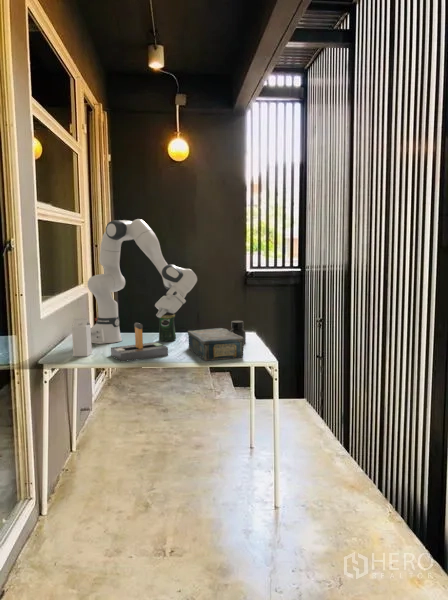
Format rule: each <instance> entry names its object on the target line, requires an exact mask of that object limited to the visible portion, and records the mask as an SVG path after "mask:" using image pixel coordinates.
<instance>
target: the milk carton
mask: <svg viewBox="0 0 448 600" xmlns="http://www.w3.org/2000/svg"><path fill="white" fill-rule="evenodd" d="M91 328H92V326H91V322H90V321H89V318H88V317H73V322H72V326H71V333H72V350H73V351H72V352H73V353H72V354H73V357H88V356H90V355H91V354H92V353H93V351H92V343H91Z"/></svg>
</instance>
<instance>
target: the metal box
mask: <svg viewBox="0 0 448 600" xmlns="http://www.w3.org/2000/svg"><path fill="white" fill-rule="evenodd" d="M187 336H188V350H190V351H192V352H193V353H195V354H196V355H197V356H198V357H199V358H200V359H202V360H203V361H204V362H208V361H219V360H218V359H221V360H231V359H239V357H240V358H243V357H244V349H245V348H244V345H245V343H244V338H243V337H242V336H239V335H237V334H235V333H233V332H230V330H229V329H227V328H222V327H218V328H217V327H216V328H206V329H196V330H187ZM230 358H231V359H230Z"/></svg>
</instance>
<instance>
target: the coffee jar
mask: <svg viewBox="0 0 448 600" xmlns="http://www.w3.org/2000/svg"><path fill="white" fill-rule="evenodd" d="M157 318H158V322H159V325H158V326H159V329H158V341H160V342H172V341H176V339H177V337H176V336H177V335H176V334H177V333H176V327H175V318H176V312H175V313H174V314H173V313H169V312H166V313H165V314H164V315H162V317H161V318H159V317H157Z"/></svg>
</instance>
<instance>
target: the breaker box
mask: <svg viewBox="0 0 448 600" xmlns="http://www.w3.org/2000/svg"><path fill="white" fill-rule="evenodd" d="M110 356H111V357H112V358H114V357H115V358H114V359H116V358H117V359H116V360H117V361H119V360H120V361H119V362H121V361H125V362H128V361H127V360H132V361H137V360H136V359H139V360H144V359H151V358H152V359H153V358H158V357H167V356H169V347H168V346H165V345H164V344H162V343H160V342H156V341H155V342H147V343H146V342H145V343H144V342H143V348H141V349H139V348H137V347H136V345H135V344H129V345H122V346H114V347H110Z"/></svg>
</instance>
